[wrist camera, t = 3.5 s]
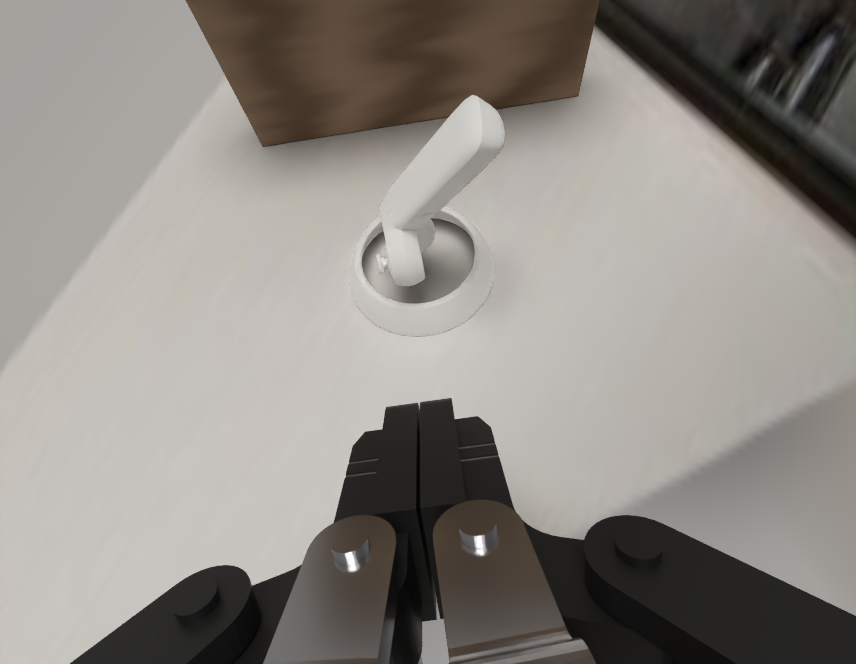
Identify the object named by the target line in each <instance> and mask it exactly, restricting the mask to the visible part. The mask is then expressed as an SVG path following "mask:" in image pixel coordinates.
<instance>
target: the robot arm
mask: <svg viewBox="0 0 856 664" xmlns="http://www.w3.org/2000/svg"><path fill="white" fill-rule="evenodd" d="M436 597H437V603H438V608H439V614H440V619H444V623H445V630H446V638H447V645H448V652H449V660H450V663H449V664H856V616H854V615H852V614H850V613H848V612H846V611H844V610H842V609H840V608H838V607H836V606H834V605H832V604H830V603H827V602H825V601H823V600H821V599H819V598H817V597H815V596H813V595H810V594H808V593H807V592H804V591H802V590H800V589H798V588H796V587H794V586H792V585H790V584H788V583H786V582H784V581H781V580H779V579H777V578H775V577H773V576H771V575H769V574H767V573H765V572H763V571H760V570H758V569H756V568H754V567H752V566H750V565H748V564H746V563H744V562H742V561H739V560H738V559H735V558H733V557H731V556H729V555H727V554H725V553H723V552H721V551H719V550H716V549H714V548H712V547H710V546H708V545H706V544H704V543H702V542H700V541H698V540H696V539H694V538H691V537H689V536H687V535H685V534H683V533H681V532H679V531H676V530H675V529H673V528H671V527H668V526H666V525H664V524H662V523H659V522H657V521H655V520H651V519H648V518H645V517H639V516H630V515H623V516H614V517H609V518H606V519H603V520H601V521H599V522H597V523H596V524H595V525H593V526H592V527H591V528H590V530H589V531H588V532H587V534H586V536H585V540H579V539H572V538H564V537H558V536H552V535H549V534H546V533H543V532H540V531H538V530H536V529H534V528H532V527H531V526H529V525H528V524H526V523H525V522H524V521H523V520H522V519H521V518H520V516H519V515H518V514H517V513H516V511H515V510H514V507H513V504H512V501H511V497H510V494H509V490H508V487H507V483H506V480H505V476H504V473H503V469H502V465H501V462H500V458H499V456H498V451H497V448H496V445H495V441H494V437H493V434H492V430H491V427H490V426H489V425H487V424H486V423H485V422H484V421H483V420H482V419H480V418H479V417H478V416H476V417H469V418H462V419H454V412H453V406H452V399H451V398H448V399H441V400H434V401H426V402H420V409H419V405H418V403H413V404H405V405H398V406H391V407H386V410H385V417H384V423H383V429H382V430H375V431H368V432H365V433H364V434H363V435H362V436H361V437H360V438H359V440H358V441H357V442H356V443H355V444H354V445H353V448H352V452H351V456H350V460H349V465H348V468H347V472H346V478H345V480H344V484H343V488H342V492H341V496H340V500H339V504H338V508H337V512H336V516H335V520H334V523H333V524H331V525H330V526H328V527H327V528H325V529H324V530H323V531H322V532H320V533H319V534H318V535H317V536H316V538H315V539H314V540H313V541H312V543H311V544H310V546H309V548H308V550H307V553H306V555H305V558H304V560H303V563H302V565H300V566H299V567H297V568H295V569H293V570H291V571H288V572H286V573H284V574H281V575H279V576H276V577H274V578H271V579H268V580H266V581H263V582H261V583H258V584H256V585H253V586H252V584H251V582H250V579H249V577H248V575H247V573H246V572H245V571H244V570H242V569H240V568H238V567H235V566H229V565H223V566H215V567H211V568H207V569H204V570H201V571H199V572H197V573H195V574H192V575H191V576H189V577H187V578H185V579H184V580H182V581H181V582H179V583H178V584H176V585H175V586H174V587H172V588H171V589H170V590H168V591H167V592H165V593H164V594H163V595H161V596H160V597H159V598H157V599H156V600H155V601H153V602H152V603H151V604H149V605H148V606H147V607H145V608H144V609H143V610H141V611H140V612H139V613H137V614H136V615H135V616H133V617H132V618H131V619H129V620H128V621H126V622H125V623H124V624H122V625H121V626H120V627H118V628H117V629H116V630H114V631H113V632H112V633H110V634H109V635H108V636H106V637H105V638H104V639H102V640H101V641H100V642H98V643H97V644H96V645H94V646H93V647H91V648H90V649H89V650H87V651H86V652H85V653H83V654H82V655H81V656H79V657H78V658H77V659H75V660H74V661H73V662H71V663H70V664H422V659H421V652H422V621H430V620H437V617H436Z"/></svg>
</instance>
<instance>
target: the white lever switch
mask: <svg viewBox="0 0 856 664" xmlns="http://www.w3.org/2000/svg"><path fill="white" fill-rule="evenodd" d="M504 139H505V130H504V125H503V121H502V119H501V117H500V115H499V113H498V112H497V111H496V110H495V109H494V108H493V107H492V106H491V105H490V104H488V103H487V102H485V101H484V100H482V99H481V98H479V97H478V96H475V95H471V96H470V97H468V98H467V99H465V100H464V101H463V102H462V103H461V104H460V105H459V106H458V107H457V108H456V109H455V111H454V112H453V113H452V114H451V115H450V116H449V117H448V119H447V120H446V121H445V122H444V123H443V125H442V126H441V127H440V128H439V129H438V131H437V132H436V133H435V134H434V135H433V137H432V138H431V139H430V140H429V141H428V143H427V144H426V145H425V146H424V147H423V149H422V150H421V151H420V152H419V153H418V155H417V156H416V157H415V158H414V159H413V161H412V162H411V163H410V164H409V165H408V167H407V168H406V169H405V170H404V171H403V172H402V174H401V175H400V176H399V177H398V178H397V180H396V181H395V182H394V183H393V185H392V186H391V188H390V190H389V192H388V194H387V195H386V197H385V199H384V200H383V201H382V203H381V204H380V209H381V210H380V215H381V216H380V217H378V218H377V219H375V220H374V221H373V222H372V223H371V224H370V225H369V226H368V227H367V228H366V230H365V231H364V232H363V234H362V235H361V237H360V238H359V240H358V242H357V244H356V247H355V249H354V251H353V254H352V258H351V263H350V267H349V287H350V291H351V296H352V298H353V300H354V302H355V304H356V306H357V308H358V309H359V310H360V311H361V312H362V314H363V315H364V316H365V317H366V318H367V319H368V320H370V321H371V322H372V323H374V324H375V325H376V326H378V327H380V328H382V329H384V330H386V331H388V332H392V333H395V334H399V335H403V336H416V337H420V336H429V335H435V334H439V333H442V332H446V331H449V330H451V329H453V328H455V327H457V326H459V325H461V324H463V323H464V322H465V321H467V320H468V319H469V318H471V317H472V316H473V315H474V314H475V313H476V312H477V311H478V310H479V309H480V308H481V306H482V305H483V304H484V302H485V301H486V299H487V297H488V295H489V294H490V291H491V288H492V285H493V282H494V273H495V265H494V259H493V254H492V252H491V249H490V247H489V245H488V243H487V241H486V239H485V238H484V237H483V235H482V234H481V232H480V231H479V230H478V228H477V227H476V226H475V225H474V224H473V223H472V222H471V221H469V220H468V219H467V218H466V217H465V216H463V215H462V214H460V213H459V212H457V211H455V210H454V209H451V208H448V207H446V206H445V205H446V204H447V203H448V202H449V201H451V200H452V199H453V198H454V197H455V196H456V195H457V194H458V193H459V192H460V191H461V190H462V189H463V188H464V187H466V186H467V185H468V184H469V183H470V182H471V181H472V180H473V179H474V178H475V177H476V176H477V175H478V174H479V173H481V172H482V171H483V170H484V169H485V168H486V167H487V166H488V165H489V164H490V163H491V162H492V161H493V160H494V159H495V158H496V156H497V155H498V154H499V153H500V151H501V149H502V148H503V144H504ZM431 218H436V219H441V220H446V221H449V222H452V223H454V224H456V225H458V226H459V227H461V228H463V229H464V230H465V231H466V232H467V233H468V234H469V235H470V237H471V238H472V240H473V242H474V249H475V255H474V262H473V265H472V268H471V271H470V273H469V274H468V276H467V278H466V279H465V280H464V281H463V282H462V284H461V285H460V286H459V287H458V288H456V289H455V290H454V291H452V292H451V293H450V294H448V295H446V296H444V297H442V298H440V299H437V300H434V301H430V302H426V303H417V304H413V303H402V302H398V301H394V300H391V299H389V298H387V297H385V296H383V295H382V294H380V293H379V292H377V291H376V290H375V289H374V288H373V287H372V286H371V285H370V283H369V282H368V280H367V279H366V277H365V275H364V272H363V268H362V258H363V254H364V252H365V249H366V248H367V246H368V245H369V244H370V242H371V241H372V240H373V239H374V238H375V237H376V236H377V235H378V234H379V233H381V232H382V231H384V235H385V241H386V248H385V252H386V258H382V256H381V255H380V254H377V255H376V259H377V264H378V269H379V272H380V274H383V273H384V272H385V268H389V272H390V275H391V276H392V277H393V278H394V282H395V284H396V285H398V286H413V285H415V284H417V283H419V282H421V281H423V280H424V279H425V272H424V267H423V262H422V256H421V253H422V252H424V251H425V250H426V249H427V248H428V247H429V246H430V245H431V243H432V242H433V240H434V236H435V227H434V224H433V222H432V221H431Z"/></svg>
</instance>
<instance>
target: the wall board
mask: <svg viewBox="0 0 856 664" xmlns="http://www.w3.org/2000/svg"><path fill="white" fill-rule="evenodd" d="M186 2H187V4H188V6H189V7H190V9H191V11H192V13H193V15H194V17H195V19H196V21H197V23H198V25H199V26H200V28H201V30H202V32H203V34H204V36H205V38H206V39H207V42H208V44H209V45H210V47H211V49H212V51H213V53H214V55H215V57H216V59H217V61H218V62H219V64H220V66H221V68H222V70H223V72H224V74H225V76H226V78H227V80H228V81H229V83H230V85H231V87H232V89H233V91H234V93H235V95H236V97H237V99H238V100H239V102H240V104H241V106H242V108H243V110H244V112H245V114H246V116H247V117H248V119H249V121H250V123H251V125H252V127H253V129H254V131H255V133H256V135H257V136H258V138H259V140H260V142H261V144H262V146H269V145H275V144H281V143H288V142H294V141H300V140H306V139H312V138H319V137H325V136H331V135H337V134H343V133H350V132H356V131H362V130H368V129H375V128H381V127H387V126H393V125H399V124H406V123H412V122H418V121H424V120H430V119H437V118H443V117H449V116H450V115H451V114H452V113H453V112H454V111H455V109H456V108H457V107H458V106H459V105H460V104H461V103H462V102H463V101H464V100H465V99H467V98H468V97H470V96H471V95H475V96H478V97H479V98H481V99H482V100H484V101H485V102H487V103H488V104H490V105H491V106H492V107H493V108H494V109H499V108H505V107H511V106H517V105H524V104H530V103H536V102H542V101H549V100H555V99H561V98H567V97H573V96H578V95H579V90H580V86H581V81H582V77H583V72H584V68H585V63H586V59H587V54H588V50H589V45H590V41H591V36H592V32H593V27H594V23H595V18H596V14H597V9H598V5H599V0H186Z"/></svg>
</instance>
